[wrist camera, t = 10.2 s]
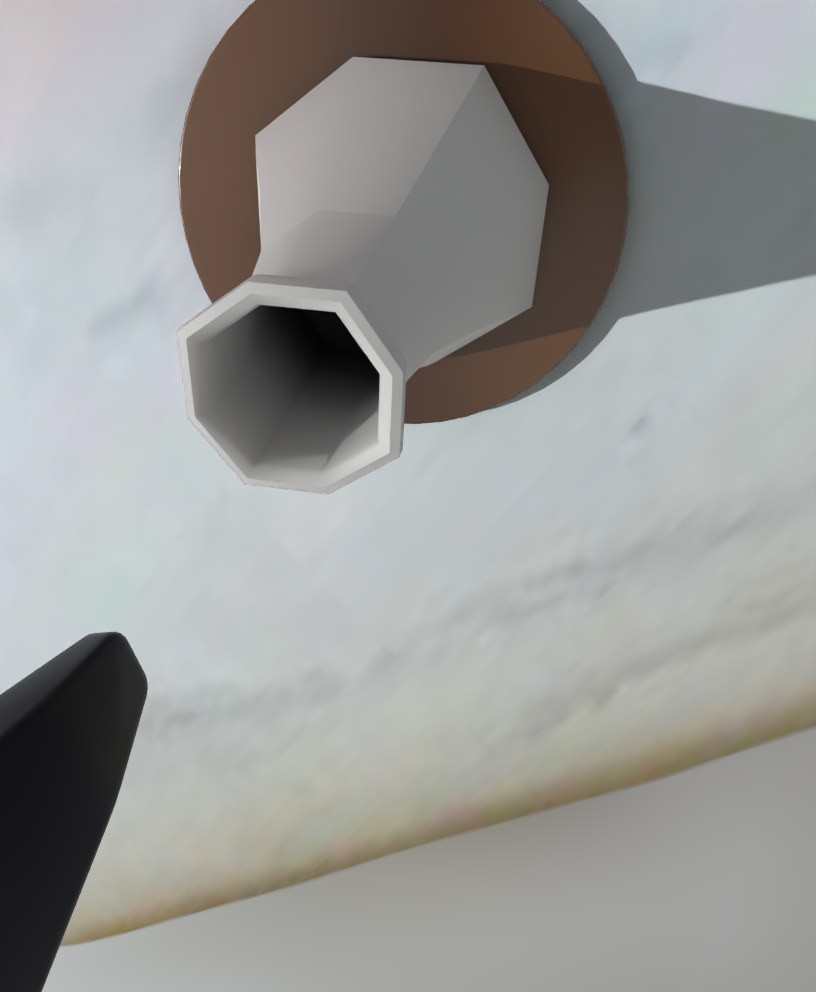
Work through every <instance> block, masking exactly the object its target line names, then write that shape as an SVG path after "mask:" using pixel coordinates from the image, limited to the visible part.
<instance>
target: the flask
mask: <svg viewBox="0 0 816 992" xmlns="http://www.w3.org/2000/svg"><path fill="white" fill-rule="evenodd" d="M255 143H256V165H257V183H258V201H259V219H260V237H261V253H260V256H259V258H258V261H257V264H256V266H255V269H254V272H253V275H252V276H251V277H250V278H248V279H247V280H245V281H244V282H243V283H241V284H240V285H238V286H237V287H236V288H234V289H233V290H231V291H230V292H228V293H227V294H226V295H224V296H223V297H221V298H220V299H219V300H217V301H216V302H214V303H213V304H212V305H210V306H209V307H207V308H206V309H204V310H203V311H202V312H200V313H199V314H197V315H196V316H195V317H193V318H192V319H190V320H189V321H188V322H186V323H185V324H183V325H182V326H181V327H180V328H179V330H178V331H177V339H178V348H179V356H180V364H181V372H182V380H183V388H184V396H185V405H186V413H187V418H188V419H189V420H190V421H191V423H192V424H193V425H194V426H195V427H196V428H197V430H198V431H199V432H200V433H201V434H202V435H203V437H204V438H205V439H206V440H207V441H208V442H209V444H210V445H211V446H212V447H213V448H214V450H215V451H216V452H217V453H218V454H219V455H220V457H221V458H222V459H223V460H224V461H225V462H226V464H227V465H228V466H229V467H230V468H231V469H232V471H233V472H234V473H235V474H236V475H237V476H238V478H239V479H240V480H241V481H242V482H243V483H244V484H246V485H254V486H263V487H271V488H280V489H288V490H296V491H305V492H313V493H322V494H330V493H332V492H334V491H336V490H338V489H339V488H341V487H343V486H345V485H347V484H349V483H351V482H353V481H355V480H357V479H358V478H360V477H362V476H364V475H366V474H368V473H370V472H372V471H374V470H376V469H377V468H379V467H381V466H383V465H385V464H387V463H389V462H391V461H393V460H395V459H397V458H398V457H399V456H400V454H401V452H402V449H403V429H404V410H405V390H406V381H407V380H408V379H409V378H410V377H411V376H412V375H413V374H414V373H415V372H416V371H417V370H418V369H419V368H421V367H424V366H428V365H430V364H432V363H434V362H436V361H438V360H440V359H442V358H443V357H445V356H447V355H449V354H450V353H452V352H454V351H456V350H457V349H459V348H461V347H463V346H464V345H466V344H468V343H470V342H471V341H473V340H475V339H477V338H478V337H480V336H482V335H484V334H485V333H487V332H489V331H491V330H492V329H494V328H496V327H498V326H499V325H501V324H503V323H504V322H506V321H508V320H510V319H511V318H513V317H515V316H517V315H518V314H520V313H522V312H524V311H525V310H527V309H529V308H531V307H532V302H533V295H534V288H535V281H536V274H537V267H538V260H539V252H540V245H541V238H542V231H543V224H544V217H545V210H546V203H547V196H548V189H549V184H548V182H547V180H546V179H545V177H544V175H543V173H542V171H541V169H540V167H539V166H538V164H537V162H536V160H535V158H534V156H533V155H532V153H531V151H530V149H529V147H528V145H527V143H526V142H525V140H524V138H523V136H522V134H521V132H520V131H519V129H518V127H517V125H516V123H515V121H514V119H513V118H512V116H511V114H510V112H509V110H508V108H507V107H506V105H505V103H504V101H503V99H502V97H501V95H500V94H499V92H498V90H497V88H496V86H495V84H494V82H493V81H492V79H491V77H490V75H489V73H488V71H487V70H486V68H485V66H484V65H470V64H455V63H440V62H425V61H409V60H394V59H379V58H364V57H352V58H351V59H349V60H348V61H347V62H346V63H345V64H343V65H342V66H341V67H340V68H338V69H337V70H336V71H335V72H333V73H332V74H331V75H330V76H328V77H327V78H326V79H325V80H323V81H322V82H321V83H320V84H318V85H317V86H316V87H315V88H314V89H312V90H311V91H310V92H309V93H307V94H306V95H305V96H304V97H302V98H301V99H300V100H299V101H297V102H296V103H295V104H294V105H292V106H291V107H290V108H289V109H287V110H286V111H285V112H284V113H283V114H281V115H280V116H279V117H278V118H276V119H275V120H274V121H273V122H271V123H270V124H269V125H268V126H266V127H265V128H264V129H263V130H261V131H260V132H259V133H258V134H256V135H255Z"/></svg>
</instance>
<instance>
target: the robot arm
mask: <svg viewBox="0 0 816 992" xmlns="http://www.w3.org/2000/svg"><path fill="white" fill-rule="evenodd" d="M147 689H148V686H147V678H146V675H145V673H144V671H143V669H142V667H141V665H140V663H139V662H138V660H137V658H136V656H135V654H134V652H133V650H132V648H131V646H130V644H129V643H128V641H127V639H126V638H125V637H124V636H123V635H122V634H121V633H118V632H104V633H93V634H89V635H87V636H85V637H84V638H82V639H81V640H79V641H78V642H76V643H75V644H74V645H72V646H71V647H69V648H68V649H66V650H65V651H63V652H62V653H60V654H59V655H58V656H56V657H55V658H53V659H52V660H50V661H49V662H47V663H46V664H44V665H43V666H42V667H40V668H39V669H37V670H36V671H34V672H33V673H31V674H30V675H28V676H27V677H26V678H24V679H23V680H21V681H20V682H18V683H17V684H15V685H14V686H12V687H11V688H10V689H8V690H7V691H5V692H4V693H2V694H1V695H0V992H42V989H43V987H44V984H45V982H46V979H47V976H48V974H49V971H50V969H51V966H52V964H53V961H54V959H55V956H56V953H57V951H58V949H59V946H60V944H61V941H62V939H63V936H64V933H65V931H66V928H67V926H68V923H69V921H70V918H71V916H72V913H73V911H74V908H75V906H76V903H77V900H78V898H79V895H80V893H81V890H82V888H83V885H84V883H85V880H86V878H87V875H88V873H89V870H90V868H91V865H92V862H93V860H94V857H95V855H96V852H97V850H98V847H99V845H100V842H101V840H102V837H103V835H104V832H105V830H106V827H107V824H108V822H109V819H110V817H111V814H112V811H113V808H114V806H115V803H116V800H117V797H118V793H119V790H120V787H121V784H122V780H123V777H124V773H125V770H126V766H127V763H128V759H129V756H130V752H131V749H132V745H133V742H134V738H135V735H136V731H137V728H138V724H139V721H140V717H141V714H142V710H143V707H144V703H145V700H146V696H147Z"/></svg>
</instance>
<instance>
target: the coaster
mask: <svg viewBox="0 0 816 992" xmlns="http://www.w3.org/2000/svg"><path fill="white" fill-rule="evenodd" d="M352 57H364V58H379V59H394V60H409V61H425V62H440V63H455V64H470V65H484V66H485V68H486V70H487V71H488V73H489V75H490V77H491V79H492V81H493V82H494V84H495V86H496V88H497V90H498V92H499V94H500V95H501V97H502V99H503V101H504V103H505V105H506V107H507V108H508V110H509V112H510V114H511V116H512V118H513V119H514V121H515V123H516V125H517V127H518V129H519V131H520V132H521V134H522V136H523V138H524V140H525V142H526V143H527V145H528V147H529V149H530V151H531V153H532V155H533V156H534V158H535V160H536V162H537V164H538V166H539V167H540V169H541V171H542V173H543V175H544V177H545V179H546V180H547V182H548V184H549V189H548V196H547V203H546V210H545V217H544V224H543V231H542V238H541V245H540V252H539V260H538V267H537V274H536V281H535V288H534V295H533V302H532V307H531V308H529V309H527V310H525V311H524V312H522V313H520V314H518V315H517V316H515V317H513V318H511V319H510V320H508V321H506V322H504V323H503V324H501V325H499V326H498V327H496V328H494V329H492V330H491V331H489V332H487V333H485V334H484V335H482V336H480V337H478V338H477V339H475V340H473V341H471V342H470V343H468V344H466V345H464V346H463V347H461V348H459V349H457V350H456V351H454V352H452V353H450V354H449V355H447V356H445V357H443V358H442V359H440V360H438V361H436V362H434V363H432V364H430V365H428V366H424V367H421V368H419V369H418V370H417V371H416V372H415V373H414V374H413V375H412V376H411V377H410V378H409V379H408V380H407V381H406V390H405V410H404V423H406V424H420V423H433V422H443V421H447V420H452V419H457V418H462V417H467V416H470V415H473V414H475V413H478V412H481V411H484V410H487V409H490V408H492V407H494V406H497V405H499V404H501V403H503V402H505V401H507V400H509V399H511V398H513V397H515V396H517V395H518V394H520V393H521V392H523V391H524V390H526V389H527V388H529V387H531V386H532V385H534V384H535V383H537V382H538V381H539V380H540V379H541V378H543V377H544V376H545V375H546V374H547V373H549V372H550V371H551V370H552V369H553V368H555V367H556V366H557V365H558V364H559V363H560V362H561V361H562V360H563V359H564V357H565V356H566V355H567V354H568V353H569V352H570V351H571V350H572V349H573V348H574V347H575V346H576V344H577V343H578V342H579V340H580V339H581V337H582V336H583V335H584V333H585V332H586V330H587V329H588V328H589V326H590V325H591V324H592V322H593V320H594V318H595V317H596V315H597V313H598V311H599V309H600V307H601V306H602V304H603V302H604V300H605V298H606V296H607V294H608V291H609V288H610V286H611V283H612V281H613V278H614V276H615V273H616V271H617V268H618V264H619V260H620V256H621V252H622V248H623V244H624V240H625V232H626V224H627V215H628V170H627V163H626V156H625V149H624V142H623V138H622V135H621V131H620V127H619V124H618V120H617V117H616V113H615V110H614V107H613V105H612V102H611V100H610V98H609V95H608V93H607V91H606V88H605V86H604V84H603V81H602V79H601V77H600V75H599V73H598V72H597V70H596V68H595V67H594V65H593V64H592V62H591V60H590V59H589V57H588V55H587V54H586V52H585V50H584V49H583V47H582V46H581V44H580V43H579V42H578V41H577V40H576V38H575V37H574V36H573V35H572V34H571V32H570V31H569V30H568V29H567V27H566V26H565V25H564V24H563V23H562V21H561V20H560V19H559V18H558V17H557V16H556V15H555V14H554V13H552V12H551V11H550V10H549V9H548V8H547V7H546V6H545V5H544V4H543V3H541V2H540V1H539V0H256V1H254V2H253V3H252V4H251V5H250V6H249V7H248V8H247V9H246V10H245V11H244V12H243V13H242V14H241V16H240V17H239V18H238V19H237V20H236V21H235V22H234V23H233V24H232V26H231V27H230V28H229V29H228V30H227V32H226V33H225V35H224V36H223V38H222V39H221V41H220V42H219V44H218V45H217V47H216V48H215V50H214V51H213V53H212V54H211V55H210V57H209V59H208V61H207V63H206V65H205V67H204V70H203V72H202V74H201V76H200V78H199V80H198V82H197V84H196V86H195V90H194V93H193V96H192V99H191V102H190V105H189V108H188V111H187V114H186V118H185V124H184V129H183V134H182V140H181V145H180V159H179V176H178V179H179V195H180V209H181V215H182V220H183V226H184V231H185V237H186V240H187V243H188V247H189V250H190V253H191V257H192V260H193V263H194V266H195V268H196V271H197V273H198V275H199V278H200V280H201V282H202V285H203V287H204V289H205V292H206V293H207V295H208V297H209V299H210V300H211V302H212V304H213V303H214V302H216V301H217V300H219V299H220V298H221V297H223V296H224V295H226V294H227V293H228V292H230V291H231V290H233V289H234V288H236V287H237V286H238V285H240V284H241V283H243V282H244V281H245V280H247V279H248V278H250V277H251V276H252V275H253V272H254V269H255V266H256V264H257V261H258V258H259V256H260V253H261V237H260V219H259V201H258V183H257V165H256V143H255V135H256V134H258V133H259V132H260V131H261V130H263V129H264V128H265V127H266V126H268V125H269V124H270V123H271V122H273V121H274V120H275V119H276V118H278V117H279V116H280V115H281V114H283V113H284V112H285V111H286V110H287V109H289V108H290V107H291V106H292V105H294V104H295V103H296V102H297V101H299V100H300V99H301V98H302V97H304V96H305V95H306V94H307V93H309V92H310V91H311V90H312V89H314V88H315V87H316V86H317V85H318V84H320V83H321V82H322V81H323V80H325V79H326V78H327V77H328V76H330V75H331V74H332V73H333V72H335V71H336V70H337V69H338V68H340V67H341V66H342V65H343V64H345V63H346V62H347V61H348V60H349V59H351V58H352Z"/></svg>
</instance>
